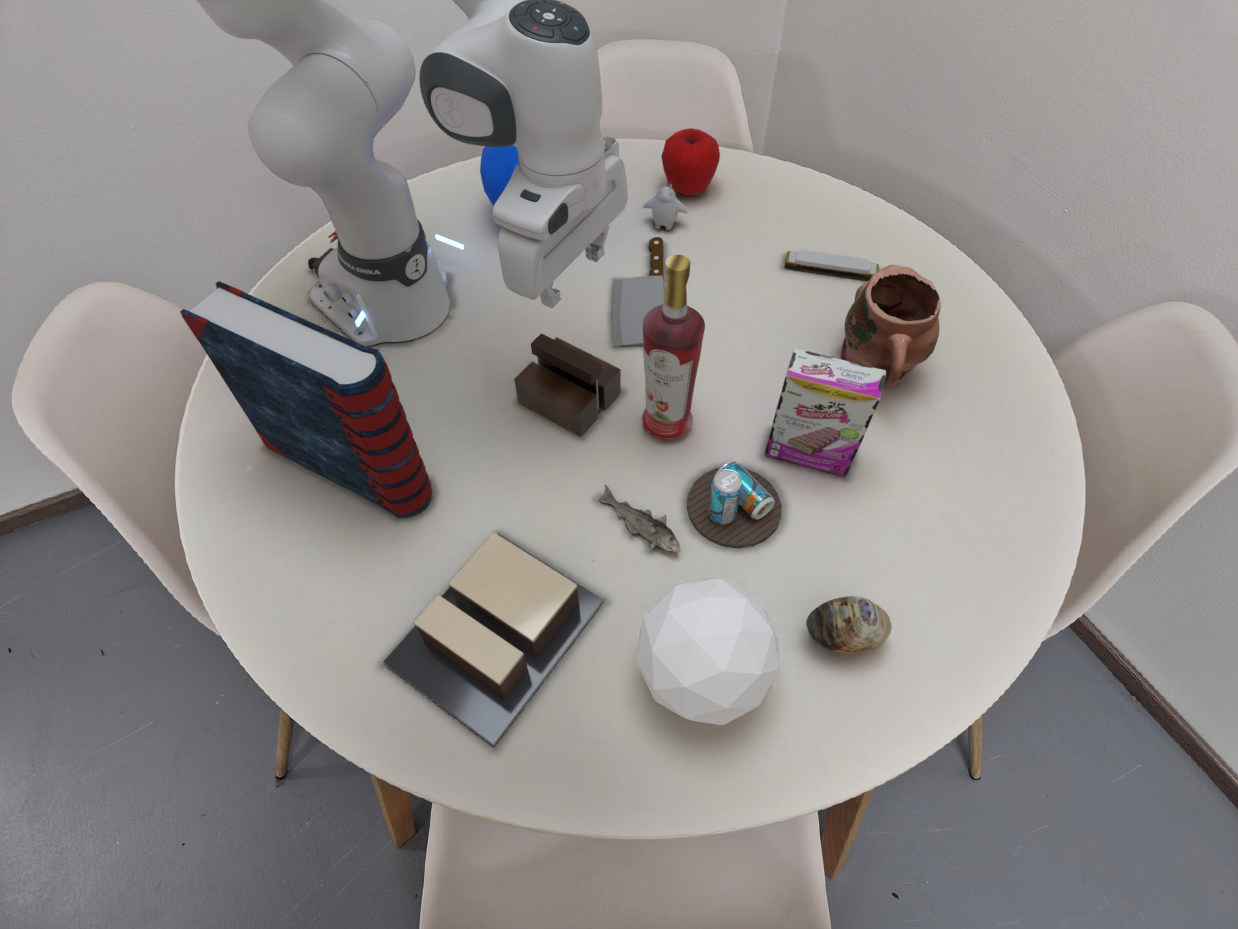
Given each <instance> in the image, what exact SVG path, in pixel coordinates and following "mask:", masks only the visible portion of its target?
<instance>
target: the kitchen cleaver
mask: <svg viewBox="0 0 1238 929" xmlns="http://www.w3.org/2000/svg"><path fill="white" fill-rule="evenodd" d="M648 249H649V250H650V256H649V259H650V263H649V264H650V267H651V268H650V269H649V272H648V275H644V276H636V277H629V278H622V279H614V280H613V281H614V282H613V291H612V304H611V330H612V333H611V334H612V344H613V347H614V348H621V347H643V320H644V317H645V316H646V314H647V313H648V312H649V311H650V310H651V309H653V308H655V307H657V306H659V305H663V302H664V296H665V290H664V239H663V238H662V237H661V236H654V237H652V238H651V239H650V240H649V241H648Z"/></svg>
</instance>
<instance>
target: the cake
mask: <svg viewBox="0 0 1238 929" xmlns="http://www.w3.org/2000/svg"><path fill="white" fill-rule="evenodd" d="M448 586H449V587H448V588H447V590H445V592H444V593H443V594H442V595H440V596H441V597H442V598H444V599H445V600H447V601H448V602H450V603H451V604H453V605H454V606H456V607H457V608H458V609H460V610H461V611H463V612H464V613H466V614H467V615H469V616H470V617H472V618H473V619H474V620H476V621H477V622H479V623H480V624H482V625H483V626H485V627H486V628H488V629H489V630H490V631H492V632H493V633H495V634H496V635H498V636H499V637H501V638H502V639H504V640H505V641H507V642H508V643H509V644H511V645H512V646H514V647H515V648H517V649H518V650H520V651H521V652H523V654H524V657H525V661H526V664H527V668H528V671H527V672H526V674H525V675H524V676H523V677H522V679H521V680H520V681H519V683H518V684H517V685H516V686H515V688H514V689H513V690H512V692H511V693H510V694H509V696H508V697H507V698H506V699H504V698H502V697H501V696H499V695H498V694H497V693H495V692H494V691H493V690H491V689H490V688H488V687H487V686H486V685H484V684H483V683H481V682H480V681H479V680H477V679H476V678H474V677H473V676H472V675H470V674H469V673H468V672H466V671H465V670H463V669H462V668H461V667H459V666H458V665H456V664H455V663H454V662H452V661H451V660H450V659H448V658H447V657H445V656H444V655H443V654H441V653H440V652H438V651H437V650H436V649H434V648H433V647H431V646H430V645H429V644H427V643H426V642H425V641H423V639H422V637H421V635H420V634H419V632H418V630H417V628H416V626H415V625H414V626H413V628H412V629H411V630H410V631H409V632H408V633H407V634H406V635H405V636H404V638H403V639H402V640H401V641H400V642H399V644H398V645H397V646H396V647H395V648H394V649H393V650H392V651H391V652H390V653H389V654H388V655H387V657H386V658H385V659H384V660H383V662H382V663H383V665H385V666H386V667H387V668H389V669H390V670H391V671H393V672H394V673H395V674H396V675H398V676H399V677H401V678H402V679H403V680H405V681H406V682H407V683H409V684H410V685H412V686H413V687H414V688H416V689H417V690H418V691H419V692H421V693H422V694H423V695H425V696H426V697H428V699H430V700H431V701H433V702H434V703H435V704H436V705H438V706H439V707H440V708H442V709H443V710H444V711H445V712H447V713H449V714H450V715H451V716H453V718H455V719H457V721H459V722H460V723H462V724H463V725H465V727H467V728H469V730H471V731H473V733H475V734H476V735H478V736H479V737H480V738H482V739H483V740H485V741H486V742H487V743H488V744H490V745H491V746H492V747H496V745H497V743H498V742H499V741H500V740H501V738H502V737H503V736H504V735H505V733H506V732H507V730H508V729H509V728H510V727H511V725H512V724H513V722H514V721H515V720H516V719H517V717H518V716H519V714H520V713H521V712H522V710H523V709H524V708H525V706H526V705H527V704H528V702H529V701H530V700H531V699H532V698H533V696H534V695H535V693H536V692H537V691H538V690H539V688H540V687H541V685H542V684H543V683H544V682H545V681H546V679H547V678H548V676H549V675H550V673H551V672H552V671H553V670H554V668H555V667H556V665H558V663H559V662H560V660H562V657H563V656H564V655H565V654H566V652H567V651H568V650H569V649H570V647H571V646H572V644H573V643H574V642H575V640H576V639H577V638H578V636H579V635H580V634H581V632H582V631H583V630H584V628H585V627H586V626H587V625H588V623H589V622H590V620H591V619H592V618H593V617H594V616H595V614H596V613H597V611H598V610H599V609H600V608H601V606H602V605H603V603H604V599H603V598H601V597H600V596H598V595H597V594H595V593H593V592H592V591H590V590H589V589H587V588H586V587H585V586H582V585H580V584H579V583H577V582H576V581H574V580H573V579H571V578H570V577H568V576H566V575H565V574H564V573H562V572H560V571H558V570H557V569H555V568H554V567H552V566H550V565H549V564H547V563H546V562H544V561H542V560H541V559H540V558H538V557H536V556H534V555H533V554H531V553H530V552H529V551H526V550H525V549H523V547H520V546H519V545H517V544H516V543H514V542H512V541H511V540H509V539H508V538H506V537H505V536H503V535H501V534H500V533H496V532H493V533H492V534H491V535H490V536H489V537H488V538H487V540H486V541H485V542H484V543H483V544H482V545H481V546H480V548H478V550H476V552H475V553H474V554H473V555H472V556H471V558H470V559H468V561H466V563H465V564H464V565H463V567H461V568H460V570H459V571H457V573H456V574H455V576H453V577H452V579H450V581H449V582H448Z"/></svg>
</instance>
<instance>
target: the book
mask: <svg viewBox="0 0 1238 929" xmlns="http://www.w3.org/2000/svg"><path fill="white" fill-rule="evenodd" d="M215 286H216V289H215V290H214V291H213V292H212V293H211V294H209V295H208V296H206V297H205V298H204V299H203V300H202V301H200V302H199V303H198V304H197V305H195V306H194V307H193V308H191V309H190V310H187V309H186V308H183V309H181V310H180V311H179V314H180V315H181V318H182V319H183V321H184V323H185V324H186V325H187V327H188V328H189V330H190V332H191V333H192V334H193V336H194V337H195V338H196V340H197V341H198V343H199V344H200V345H201V347H202V349H203V350H204V352H205V353H206V355H207V356H208V358H209V359H210V361H211V363H212V364H213V366H214V367H215V369H216V371H217V372H218V373H219V375H220V377H221V378H222V380H223V381H224V383H225V385H226V386H227V388H228V389H229V391H230V392H231V394H232V396H233V397H234V398H235V400H236V402H237V404H238V405H239V407H240V408H241V409H242V411H243V413H244V415H245V416H246V417H247V419H248V421H249V422H250V424H251V425H252V426H253V428H254V430H255V432H256V434H257V435H258V436H259V438H260V440H261V442H262V443H263V445H264V446H265V447H266V448H267V449H269V450H270V451H272V452H275V453H276V454H278V455H280V456H282V457H284V458H285V459H287V460H290V461H291V462H294V463H296V464H298V465H300V466H302V467H304V468H306V469H307V470H309V471H311V472H313V473H315V474H317V475H319V476H321V477H323V478H325V479H327V480H328V481H330V482H333V483H335V484H336V485H338V486H341V488H344V489H346V490H347V491H349V492H352V493H354V494H355V495H358V496H359V497H362V498H363V499H365V500H368V501H369V502H371V503H373V504H375V505H377V506H379V507H381V508H383V509H384V510H386V511H389V512H390V513H392V514H393V515H394V516H395V517H396V518H398V519H401V518H403V519H404V518H405V519H406V518H411V517H414V516H417V515H420V514H421V513H422V512H423V511H425V510H426V509H427V508H428V506H429V505H430V504H431V501H432V500H433V499H432V497H433V488H432V481H431V478H430V477H429V474H428V473H427V470H426V466H425V462H424V460H423V457H422V456H421V454H420V449H419V447H418V443H417V442H416V440H415V438H414V433H413V431H412V428H411V425H410V424H409V421H408V418H407V415H406V412H405V409H404V406H403V404H402V402H401V400H400V396H399V392H398V390H397V388H396V385H395V383H394V381H393V376H392V374H391V371H390V368H389V365H388V364H387V362H386V359H385V358H384V355H382V353H381V352H380V350H379V349H378V348H373V347H370V346H363V345H361V344H359V343H357V342H355V341H354V340H353V339H351V338H348V337H345V336H344V335H342V334H339V333H337V332H334V331H332V330H330V329H328V328H325V327H323V326H321V325H319V324H316V323H314V322H312V321H309V320H307V319H305V318H302V317H301V316H299V315H296V314H294V313H292V312H290V311H287V310H285V309H282V308H281V307H278V306H277V305H274V304H271V303H270V302H267V301H265V300H262V299H261V298H258V297H256V296H254V295H251V294H249V293H247V292H245V291H244V290H241V289H239V288H237V287H234V286H232V285H229V284H227V283H225V282H222V281H220V280H218V281H216V283H215Z"/></svg>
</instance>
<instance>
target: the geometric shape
mask: <svg viewBox="0 0 1238 929" xmlns="http://www.w3.org/2000/svg"><path fill="white" fill-rule="evenodd" d="M636 650H637V651H636V658H635V663H636V665H637V668H638V669H639V671H640V673H641V675H642V677H643V679H644V681H645V683H646V686H647V687H648V689H649V691H650V694H651V695H652V698H653V700H654V702H656V703H658V704H659V705H661V706H662V707H664V708H666V709H668V710H669V711H671V712H673V713H675V714H677V715H679V716H680V717H682V718H684V719H686V720H689V721H693V722H697V723H705V724H712V725H718V726H725V725H726V724H728V723H730V722H732V721H734V720H736V719H738V718H740V717H742V716H743V715H745V714H747V713H749V712H751V711H752V710H755V709H757V708H758V707H760V706H761V704H762V702H763V700H764V699H765V696H766V695H767V693H768V691H769V689H770V688H771V686H772V684H773V682H774V680H775V679H776V676H777V675H778V673H779V671H780V669H781V668H780V652H779V638H778V636H777V634H776V632H775V630H774V627H773V625H772V624H771V621H770V619H769V617H768V615H767V613H766V610H765V608H764V607H763V605H762V602H761V600H760V598H758V597H756V596H754V595H753V594H750V593H749V592H747V591H745V590H743V589H741V588H739V587H737V586H736V585H733V584H732V583H730V582H728V581H726V580H725V579H722V578H706V579H705V578H704V579H692V580H689V581H685V582H683V583H679V584H676V585H675V586H673V587H672V588H671V589H670V590H668V591H667V592H666V593H665V594H664V595H662V596H661V597H659V598H658V600H657V601H656V602H655V603H654V605H653V606H651V607H650V609H649V610H648V611H647V612H646V614H645V615H644V616H643V619H642V623H641V626H640V630H639V636H638V644H637V649H636Z"/></svg>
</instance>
